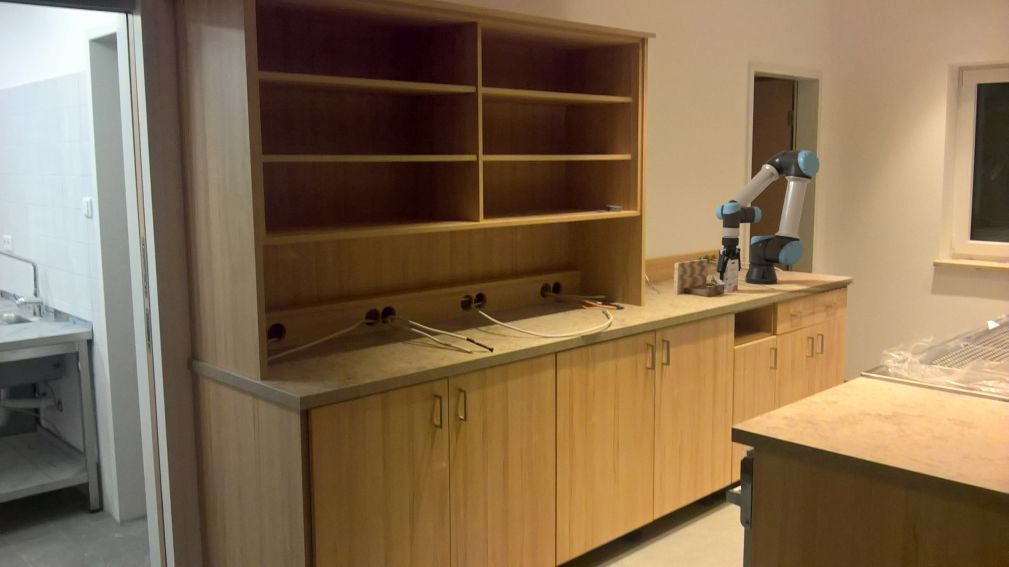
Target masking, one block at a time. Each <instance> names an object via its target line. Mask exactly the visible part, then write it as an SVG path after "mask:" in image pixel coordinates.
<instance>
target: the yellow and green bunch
mask: <svg viewBox="0 0 1009 567" xmlns="http://www.w3.org/2000/svg"><path fill="white" fill-rule="evenodd" d="M701 259H702V256H701V255H700V256H699V257H698V260H701ZM708 275H709V274H708V272H707V278H708ZM707 284H708V285H709V284H711V286H715V285H719V282H718V281H717V280H716V278H714V277H711V279H710V280H707V283H706V285H707Z"/></svg>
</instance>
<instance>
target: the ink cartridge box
mask: <svg viewBox="0 0 1009 567" xmlns="http://www.w3.org/2000/svg"><path fill="white" fill-rule="evenodd" d="M732 262H735V264H731V263H732ZM738 268H739V266H738V259H737V260H730V259H729V260H728V264H727V267H726V270H725V273H726V281H725V287H724V293H725V294H726V293H733V292H738V290H739V289H738V288H739V287H738V286H739V285H738V284H739V271H738ZM719 276H720V273H718V281H719V280H720V279H719V278H720V277H719Z"/></svg>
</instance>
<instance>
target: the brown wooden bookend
mask: <svg viewBox="0 0 1009 567" xmlns="http://www.w3.org/2000/svg"><path fill="white" fill-rule="evenodd" d="M673 272H674V273H673V295H681V294H682V295H683V294H686V295H691V296H692V295H693V296H699V297H705V298H712V297H718V296H722V295H723V296H724V295H725V292H724V284H721V285H719V284H718V285H715V286H713V285H707V284H706V283H707V281H708V279H707V278H708V277H707V276H708V275H707V273H708V259H706V258H705V259H704V258H703V259H702V258H701V260H699V259H695V260H688V261H680V262H674V271H673Z"/></svg>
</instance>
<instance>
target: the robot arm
mask: <svg viewBox="0 0 1009 567" xmlns="http://www.w3.org/2000/svg"><path fill="white" fill-rule="evenodd" d="M819 170H820V160H819V157H818V156H817V154H816V153H815V152H814V151H812V150H806V149H805V150H804V149H802V150H783V151H779V152H777V153H776V154H775V155H773V156H772V157H770V159H768V160H766V162H765V163H764V164H763V165H762V167H761V169H760V170H759V171H758V173H756V174H755V176H753V178H752V179H751V180H749V181H748V182H747V184H745V185H744V186H743V187H742V188H741V189H740V190H739V191H738V192H737V193H736V194H735V195H734V196H733V197H732V198H731V199H730V200H729V201H728V202H726V203H724V204H719V205H718V206H717V208H715V209H716V210H715V216H716V218H717V219H718V220H719V221H722V231H721V232H722V233H721V246H723V249H719V250H718V260H717V264H716V265H717V266H716V272H717V273H718V274H719V273H720V276H719V275H718V285H721V284H724V287H725V281H726V273H725V270H726V267H727V265H728V261H730V260H737V259H738V266H739V268H738V272H741V269H742V264H741V261H742V260H741V248H738V246H739V243H740V238H739V236H740V228H741V227H740V226H741V225H740V224H755V223H759V222H760V221H761V219H762V211H761V209H760V208H759V207H758V206H753V205H752V206H749V205H750V204H751V203H752V202H753V201H755V199H756V198H757V197H758V196H760V194H761V193H762V192H763V191H764V190H765V189H766V188H767V187H768V186H769V185H770V184H771V183H772V182H773V181H777V180H778V179H780V178H781V177H782V176H785V177H784V178H785V179H786V181H787V186H786V190H785V194H784V195H785V196H784V201H783V206H782V212H781V218H780V222H779V229H778V232H775V234H774V235H773V234H772V235H771V234H770V235H755V236H752V237H751V239H750V244H749V245H750V249H749V252H750V253H749V266H748V269H747V271H746V275H745V279H744V280H745V281H744V282H745V283H748V284H753V285H754V284H755V285H775V284H778V276H777V272H776V268H775V264H777V265H783V266H793V265H795V264H797V263H798V262H799V261H801V258H802V257H803V254H804V247H803V244H802V243H801V242H800V241H801V238H800V236H799V235H798V233H799V227H800V223H801V222H800V221H801V217H802V212H803V207H804V202H805V197H806V196H805V195H806V191H807V185H808V184H809V183H810V182H812V177H814V176H815V175H817V173H818V172H819ZM731 264H735V262H732V263H731ZM719 277H720V278H719ZM719 279H720V280H719Z"/></svg>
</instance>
